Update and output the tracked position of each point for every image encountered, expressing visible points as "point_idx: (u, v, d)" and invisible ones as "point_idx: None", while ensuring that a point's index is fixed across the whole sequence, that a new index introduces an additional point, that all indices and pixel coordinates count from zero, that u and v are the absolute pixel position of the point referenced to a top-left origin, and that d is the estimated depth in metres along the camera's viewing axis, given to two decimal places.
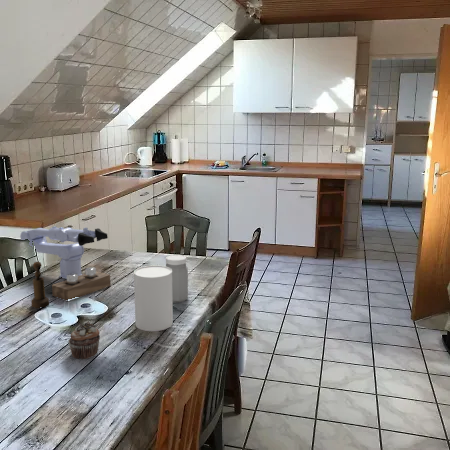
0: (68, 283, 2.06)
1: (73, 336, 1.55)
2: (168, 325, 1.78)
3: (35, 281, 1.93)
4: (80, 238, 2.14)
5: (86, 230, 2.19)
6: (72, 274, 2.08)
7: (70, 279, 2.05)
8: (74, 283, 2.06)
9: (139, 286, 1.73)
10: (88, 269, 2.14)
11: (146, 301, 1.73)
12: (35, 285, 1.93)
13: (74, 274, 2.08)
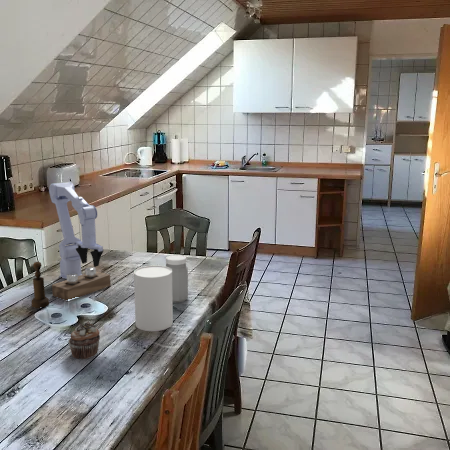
0: (68, 283, 2.06)
1: (73, 336, 1.55)
2: (168, 325, 1.78)
3: (35, 281, 1.93)
4: None
5: None
6: (72, 274, 2.08)
7: (70, 279, 2.05)
8: (74, 283, 2.06)
9: (139, 286, 1.73)
10: (88, 269, 2.14)
11: (146, 301, 1.73)
12: (35, 285, 1.93)
13: (74, 274, 2.08)
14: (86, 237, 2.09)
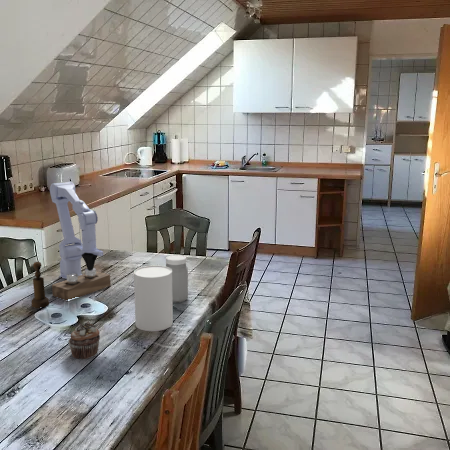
0: (68, 283, 2.06)
1: (73, 336, 1.55)
2: (168, 325, 1.78)
3: (35, 281, 1.93)
4: None
5: None
6: (72, 274, 2.08)
7: (70, 279, 2.05)
8: (74, 283, 2.06)
9: (139, 286, 1.73)
10: (88, 270, 2.14)
11: (146, 301, 1.73)
12: (35, 285, 1.93)
13: (74, 274, 2.08)
14: (86, 242, 2.10)
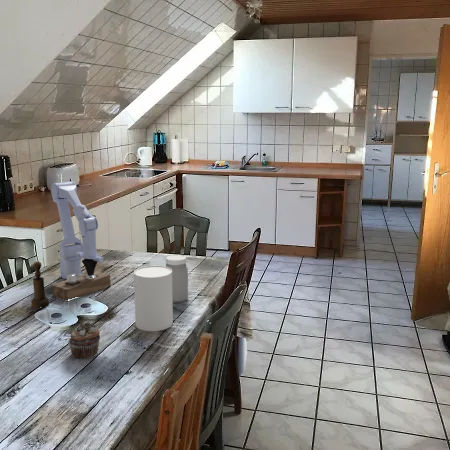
0: (68, 283, 2.06)
1: (73, 336, 1.55)
2: (168, 325, 1.78)
3: (35, 281, 1.93)
4: None
5: None
6: (72, 274, 2.08)
7: (70, 279, 2.05)
8: (74, 283, 2.06)
9: (139, 286, 1.73)
10: (88, 277, 2.15)
11: (146, 301, 1.73)
12: (35, 285, 1.93)
13: (74, 274, 2.08)
14: (87, 248, 2.10)
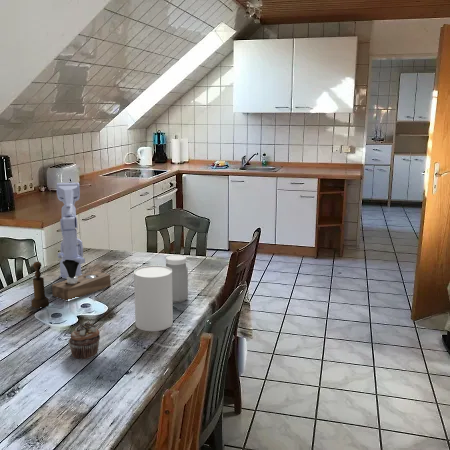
0: None
1: (73, 336, 1.55)
2: (168, 325, 1.78)
3: (35, 281, 1.93)
4: None
5: None
6: None
7: (70, 281, 2.05)
8: None
9: (139, 286, 1.73)
10: (88, 277, 2.15)
11: (146, 301, 1.73)
12: (35, 285, 1.93)
13: None
14: (67, 249, 2.01)
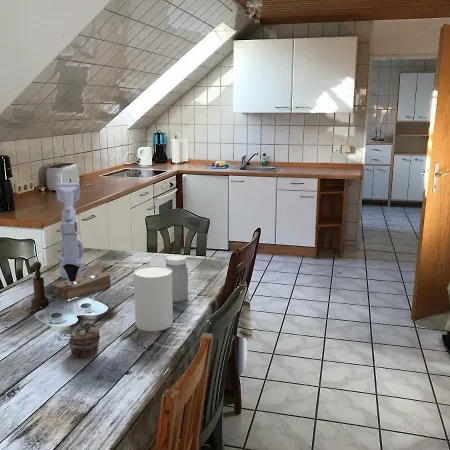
0: None
1: (73, 336, 1.55)
2: (168, 325, 1.78)
3: (35, 281, 1.93)
4: None
5: None
6: (72, 282, 2.08)
7: None
8: None
9: (139, 286, 1.73)
10: (88, 277, 2.15)
11: (146, 301, 1.73)
12: (35, 285, 1.93)
13: (74, 282, 2.08)
14: (68, 253, 2.02)
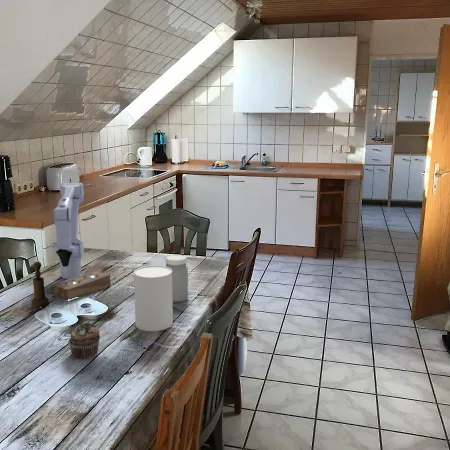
0: None
1: (73, 336, 1.55)
2: (168, 325, 1.78)
3: (35, 281, 1.93)
4: None
5: (59, 248, 2.08)
6: (72, 282, 2.08)
7: None
8: None
9: (139, 286, 1.73)
10: (88, 277, 2.15)
11: (146, 301, 1.73)
12: (35, 285, 1.93)
13: (74, 282, 2.08)
14: (61, 238, 2.07)
